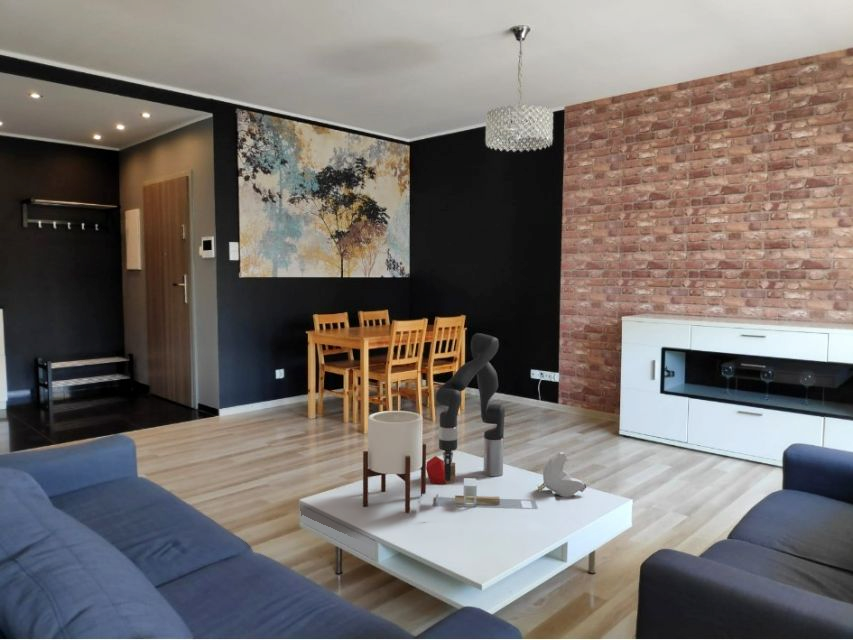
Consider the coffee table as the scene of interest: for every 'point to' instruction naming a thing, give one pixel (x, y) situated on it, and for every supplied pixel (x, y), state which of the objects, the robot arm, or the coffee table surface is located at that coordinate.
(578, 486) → the grey crescent shape
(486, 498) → the beech dowel
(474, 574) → the coffee table surface
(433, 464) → the apple
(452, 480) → the walnut block
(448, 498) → the grey pocketed tray
